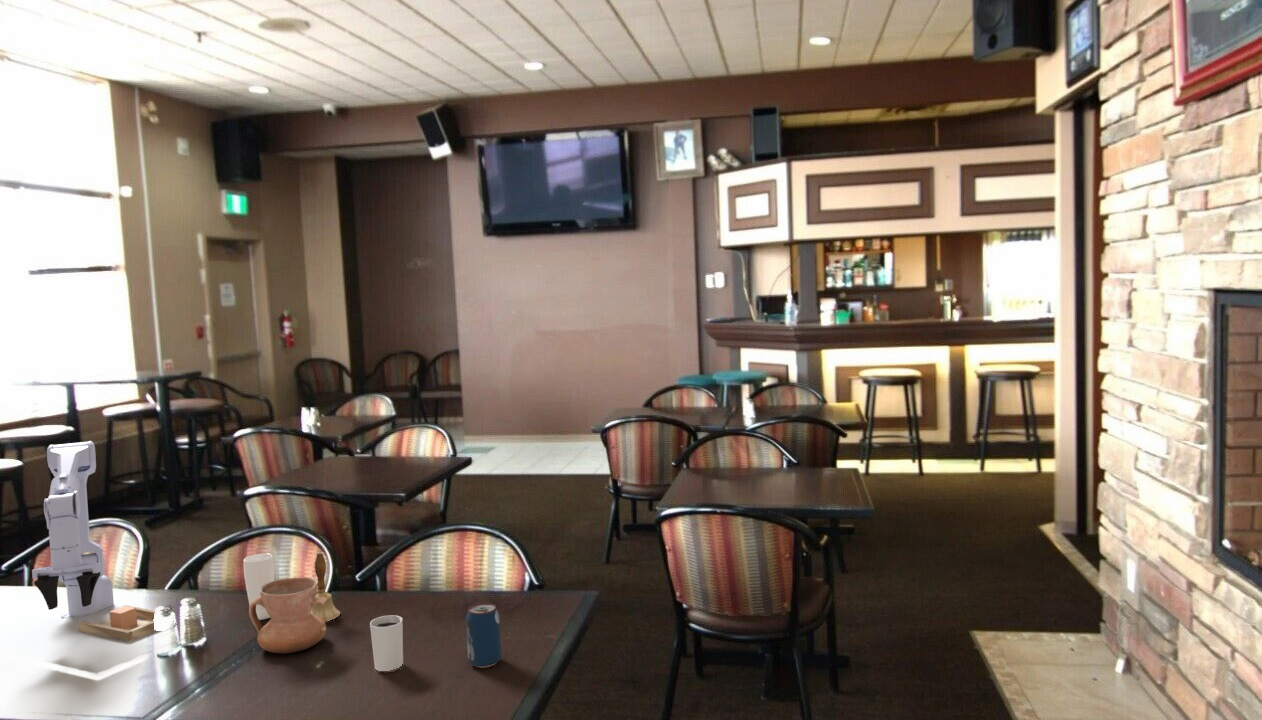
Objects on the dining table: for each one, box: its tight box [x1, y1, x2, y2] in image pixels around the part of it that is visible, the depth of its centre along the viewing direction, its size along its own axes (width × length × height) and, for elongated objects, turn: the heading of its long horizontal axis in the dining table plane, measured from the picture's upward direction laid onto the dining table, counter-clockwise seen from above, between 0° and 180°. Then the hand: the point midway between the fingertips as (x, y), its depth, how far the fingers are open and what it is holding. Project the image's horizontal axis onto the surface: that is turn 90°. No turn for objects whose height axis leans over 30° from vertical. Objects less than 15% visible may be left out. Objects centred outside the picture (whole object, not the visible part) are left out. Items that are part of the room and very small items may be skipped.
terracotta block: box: [109, 605, 138, 629], centre depth 211 cm, size 4×4×4 cm
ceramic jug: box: [248, 576, 327, 654], centre depth 198 cm, size 18×14×14 cm
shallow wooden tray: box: [77, 604, 156, 642], centre depth 211 cm, size 12×18×3 cm, turn 65°
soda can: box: [465, 602, 502, 666], centre depth 185 cm, size 7×7×12 cm
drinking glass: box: [243, 553, 275, 621], centre depth 217 cm, size 7×7×15 cm
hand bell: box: [310, 552, 341, 623], centre depth 215 cm, size 8×8×16 cm
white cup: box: [369, 614, 404, 671], centre depth 185 cm, size 7×7×10 cm
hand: (69, 606), depth 199 cm, fingers open, 7 cm apart
